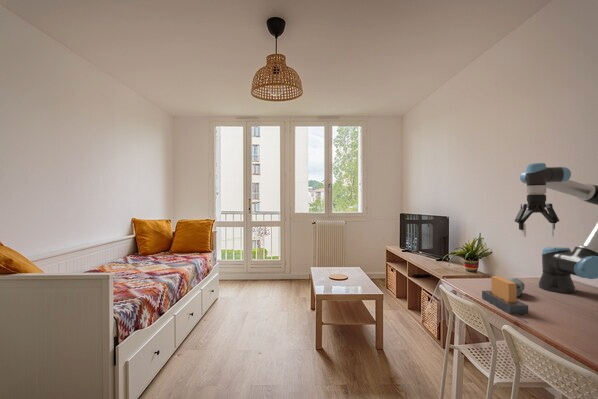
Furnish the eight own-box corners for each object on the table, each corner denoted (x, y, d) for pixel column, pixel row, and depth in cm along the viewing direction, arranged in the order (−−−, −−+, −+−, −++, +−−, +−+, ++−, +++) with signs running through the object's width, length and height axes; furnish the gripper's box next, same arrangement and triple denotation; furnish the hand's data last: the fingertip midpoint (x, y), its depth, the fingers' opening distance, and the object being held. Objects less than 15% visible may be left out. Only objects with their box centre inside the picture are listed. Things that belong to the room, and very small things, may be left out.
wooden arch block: (498, 300, 141) (498, 276, 141) (516, 309, 129) (516, 283, 129) (491, 300, 141) (491, 276, 141) (508, 309, 129) (508, 283, 129)
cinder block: (498, 298, 145) (497, 290, 145) (528, 314, 125) (528, 305, 125) (482, 298, 145) (482, 290, 145) (509, 314, 125) (509, 305, 125)
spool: (525, 294, 141) (514, 274, 146) (504, 298, 147) (495, 279, 152) (532, 294, 149) (522, 276, 154) (512, 299, 155) (503, 281, 160)
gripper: (555, 193, 147) (555, 234, 147) (505, 194, 147) (506, 235, 148) (568, 193, 139) (569, 236, 139) (516, 194, 140) (517, 237, 140)
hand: (536, 236), depth 143 cm, fingers open, 13 cm apart
